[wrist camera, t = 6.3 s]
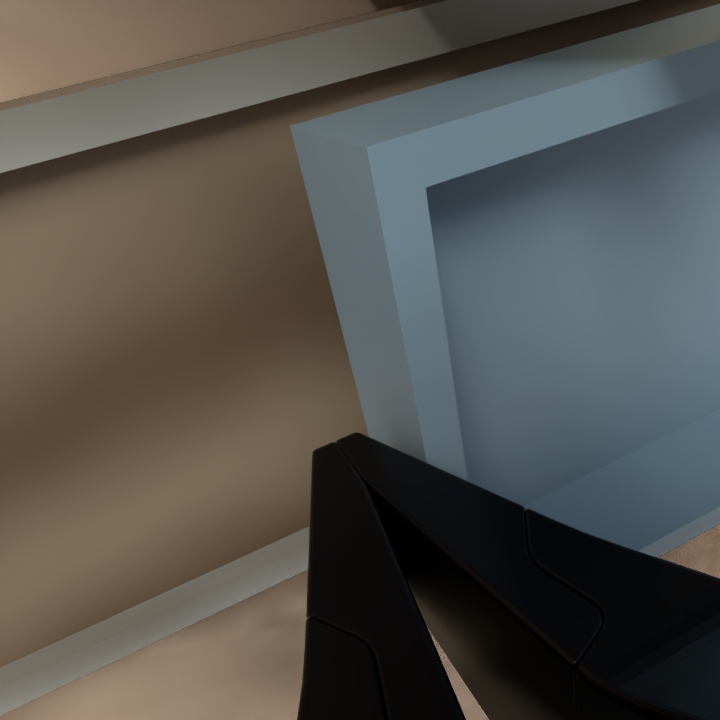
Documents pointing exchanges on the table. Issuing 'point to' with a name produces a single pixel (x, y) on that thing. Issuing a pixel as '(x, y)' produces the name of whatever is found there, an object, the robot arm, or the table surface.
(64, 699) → the table surface
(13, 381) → the track
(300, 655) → the table surface
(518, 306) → the cart
